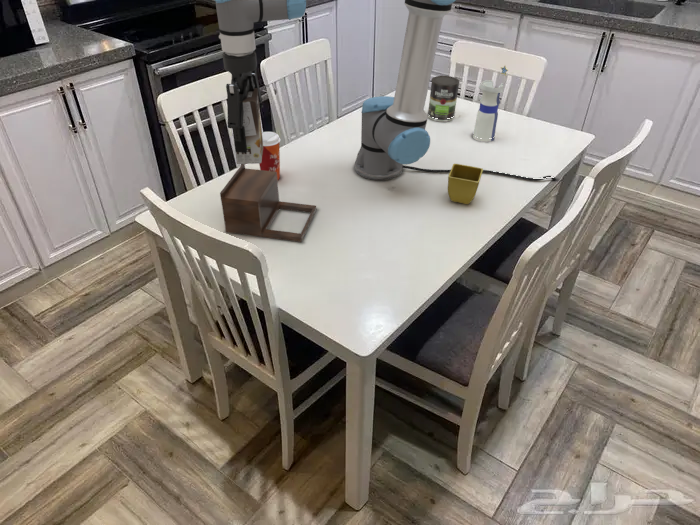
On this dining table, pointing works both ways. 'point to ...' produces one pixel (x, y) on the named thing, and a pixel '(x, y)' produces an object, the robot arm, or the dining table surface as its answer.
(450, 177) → the flower pot
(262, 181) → the rack
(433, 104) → the coffee can
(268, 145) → the paper cup
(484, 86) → the water bottle
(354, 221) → the dining table surface
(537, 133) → the dining table surface
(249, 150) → the coffee box
